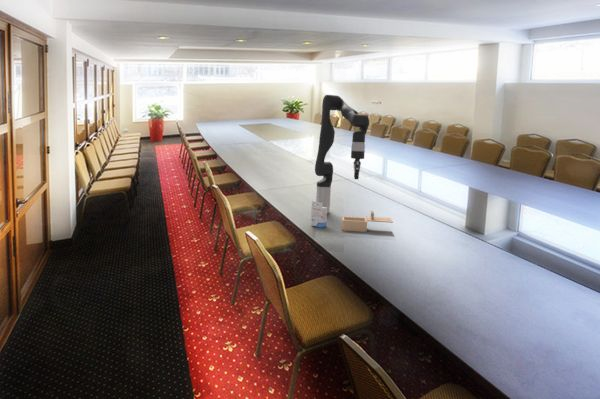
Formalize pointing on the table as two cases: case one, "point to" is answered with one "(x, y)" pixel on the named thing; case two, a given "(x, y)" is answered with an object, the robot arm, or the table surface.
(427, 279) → the table surface
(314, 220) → the ink box
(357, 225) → the open wooden box
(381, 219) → the lid
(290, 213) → the table surface
